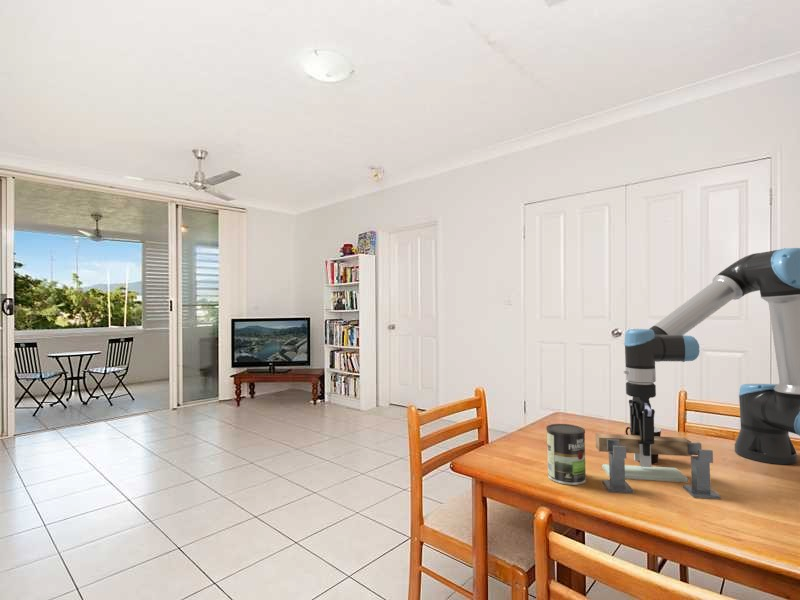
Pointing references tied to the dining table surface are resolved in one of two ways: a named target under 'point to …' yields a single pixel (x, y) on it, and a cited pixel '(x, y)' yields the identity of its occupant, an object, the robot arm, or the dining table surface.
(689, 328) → the robot arm
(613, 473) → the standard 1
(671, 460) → the dining table surface
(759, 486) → the dining table surface
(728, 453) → the dining table surface
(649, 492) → the dining table surface
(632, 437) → the rail
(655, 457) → the coffee mug
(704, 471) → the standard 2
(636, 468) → the mat
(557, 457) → the coffee can
